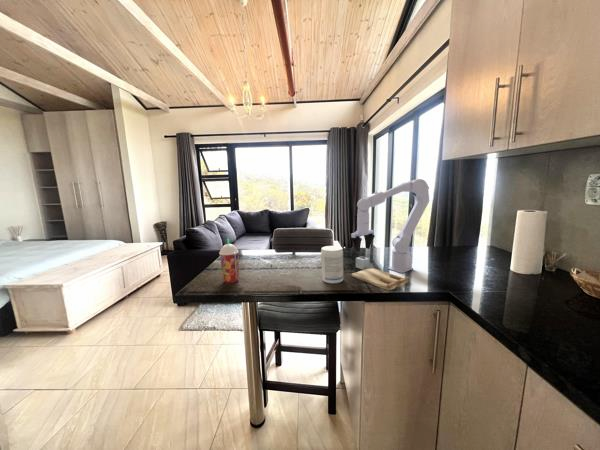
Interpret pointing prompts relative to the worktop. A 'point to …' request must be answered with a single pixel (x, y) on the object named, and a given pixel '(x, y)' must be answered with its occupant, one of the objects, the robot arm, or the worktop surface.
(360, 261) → the cabinet block
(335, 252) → the supplement tub
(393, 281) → the wall board
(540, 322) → the worktop surface
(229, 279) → the smoothie
